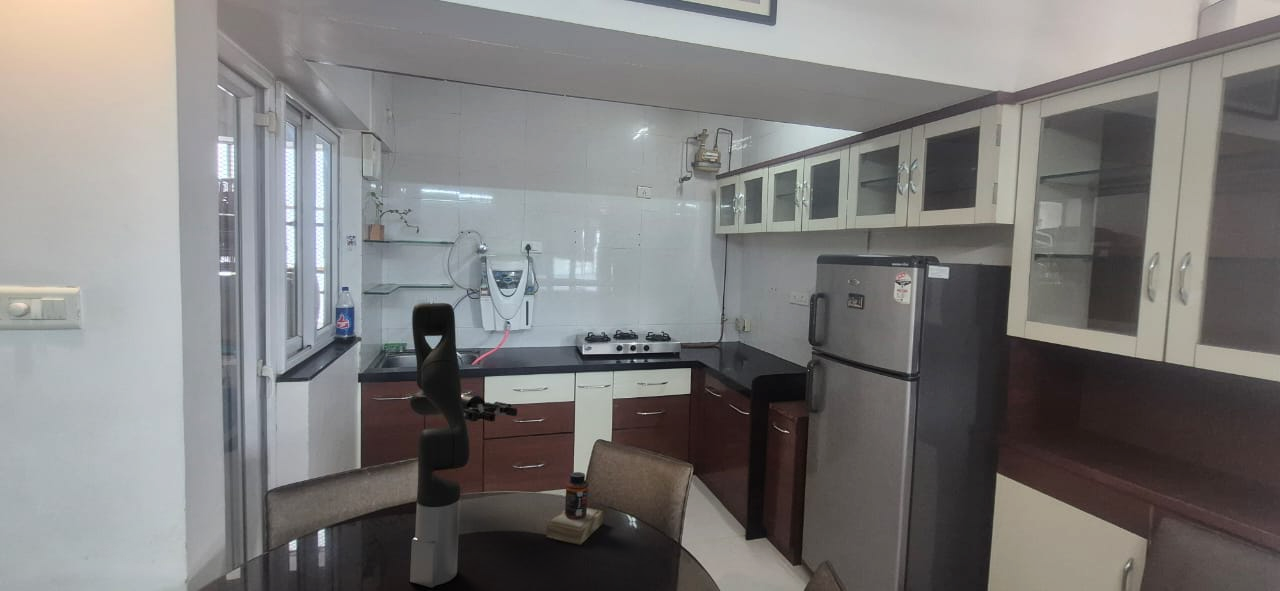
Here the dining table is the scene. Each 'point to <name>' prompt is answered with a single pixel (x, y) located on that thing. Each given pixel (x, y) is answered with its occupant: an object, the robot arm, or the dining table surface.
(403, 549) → the dining table surface
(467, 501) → the dining table surface
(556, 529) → the beige flat block
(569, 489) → the supplement bottle
